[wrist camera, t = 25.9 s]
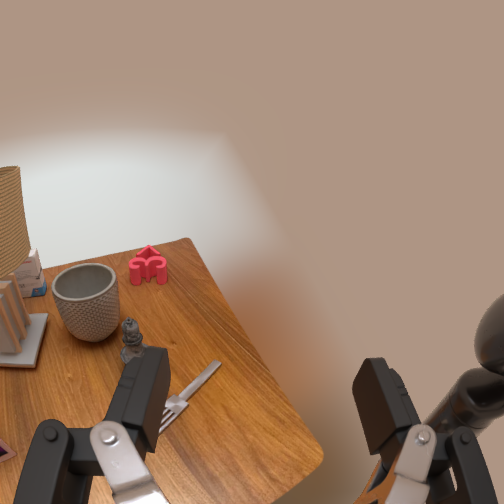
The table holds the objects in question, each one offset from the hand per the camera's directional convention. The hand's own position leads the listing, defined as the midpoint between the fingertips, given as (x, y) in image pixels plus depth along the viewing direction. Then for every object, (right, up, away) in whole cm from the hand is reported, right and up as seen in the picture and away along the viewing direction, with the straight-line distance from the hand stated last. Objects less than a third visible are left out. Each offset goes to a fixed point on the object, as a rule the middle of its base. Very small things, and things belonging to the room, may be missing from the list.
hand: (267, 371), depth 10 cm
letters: (-30, -1, +66) cm, 73 cm away
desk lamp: (-50, -15, +32) cm, 61 cm away
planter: (-34, -12, +41) cm, 55 cm away
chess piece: (-21, -17, +36) cm, 45 cm away
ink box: (-59, -6, +48) cm, 77 cm away
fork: (-12, -19, +31) cm, 39 cm away
